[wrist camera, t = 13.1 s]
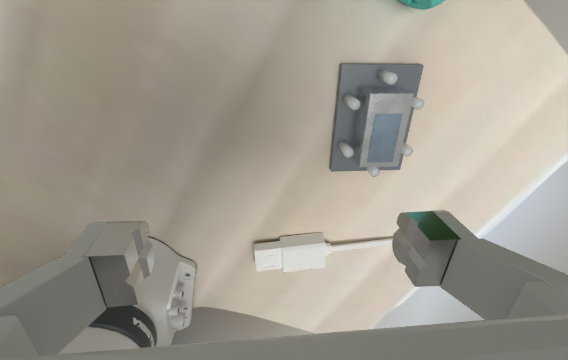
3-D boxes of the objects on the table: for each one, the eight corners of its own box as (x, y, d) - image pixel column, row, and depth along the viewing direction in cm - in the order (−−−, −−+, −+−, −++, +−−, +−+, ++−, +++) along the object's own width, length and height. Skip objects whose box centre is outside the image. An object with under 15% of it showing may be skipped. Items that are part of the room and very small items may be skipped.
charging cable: (438, 240, 52) (449, 253, 49) (255, 262, 49) (256, 277, 46) (444, 216, 50) (457, 228, 47) (253, 238, 46) (254, 252, 43)
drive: (385, 153, 41) (398, 166, 37) (349, 154, 40) (359, 167, 36) (398, 86, 36) (414, 93, 33) (359, 86, 36) (371, 93, 32)
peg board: (396, 166, 43) (409, 179, 39) (329, 168, 42) (336, 181, 38) (419, 64, 36) (437, 68, 33) (340, 63, 35) (349, 67, 32)
